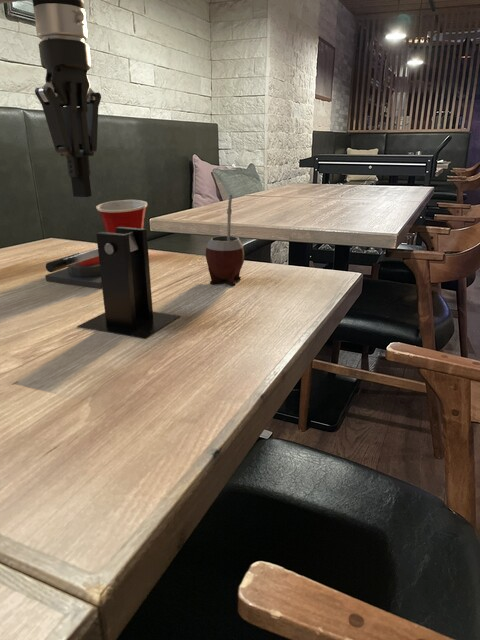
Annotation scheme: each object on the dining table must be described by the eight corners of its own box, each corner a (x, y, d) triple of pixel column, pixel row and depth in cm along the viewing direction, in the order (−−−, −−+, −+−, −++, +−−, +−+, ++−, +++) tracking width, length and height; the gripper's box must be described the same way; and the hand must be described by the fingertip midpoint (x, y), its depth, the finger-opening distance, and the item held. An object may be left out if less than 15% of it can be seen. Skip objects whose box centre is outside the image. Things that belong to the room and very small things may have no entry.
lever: (49, 276, 68) (42, 260, 68) (78, 266, 73) (72, 251, 73) (120, 255, 62) (113, 237, 62) (147, 246, 67) (141, 229, 67)
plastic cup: (91, 262, 106) (85, 205, 101) (117, 251, 115) (112, 199, 111) (136, 265, 103) (132, 207, 98) (159, 254, 112) (156, 200, 108)
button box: (46, 287, 88) (43, 265, 87) (84, 273, 97) (81, 253, 96) (100, 295, 84) (98, 272, 83) (135, 279, 93) (133, 259, 91)
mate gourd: (217, 289, 87) (215, 202, 81) (198, 278, 93) (194, 197, 88) (253, 282, 90) (253, 199, 85) (232, 273, 97) (231, 194, 91)
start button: (71, 266, 88) (70, 256, 88) (88, 260, 92) (87, 251, 91) (91, 268, 87) (90, 258, 86) (107, 262, 90) (106, 253, 90)
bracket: (78, 334, 67) (64, 234, 63) (118, 313, 75) (109, 222, 70) (145, 346, 63) (136, 240, 58) (180, 323, 71) (175, 227, 66)
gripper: (51, 31, 70) (73, 201, 78) (109, 45, 81) (123, 193, 89) (12, 36, 72) (37, 200, 81) (73, 49, 84) (90, 191, 92)
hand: (82, 196), depth 85 cm, fingers closed
